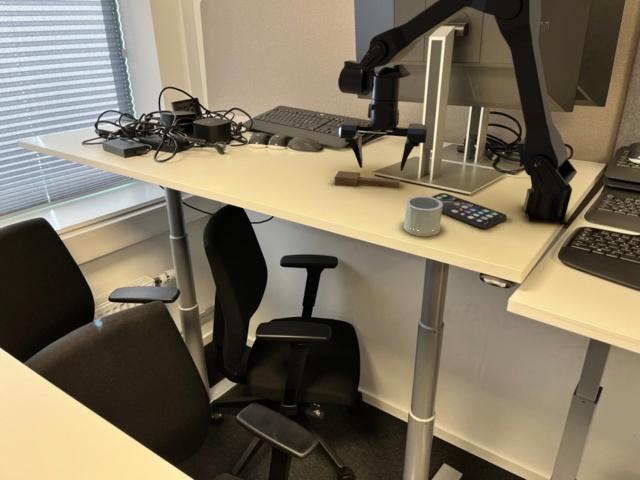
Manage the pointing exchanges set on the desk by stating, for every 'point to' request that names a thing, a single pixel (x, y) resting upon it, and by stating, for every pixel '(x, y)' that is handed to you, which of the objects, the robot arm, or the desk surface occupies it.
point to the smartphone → (469, 211)
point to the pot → (423, 215)
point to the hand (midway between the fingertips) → (381, 168)
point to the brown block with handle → (363, 180)
